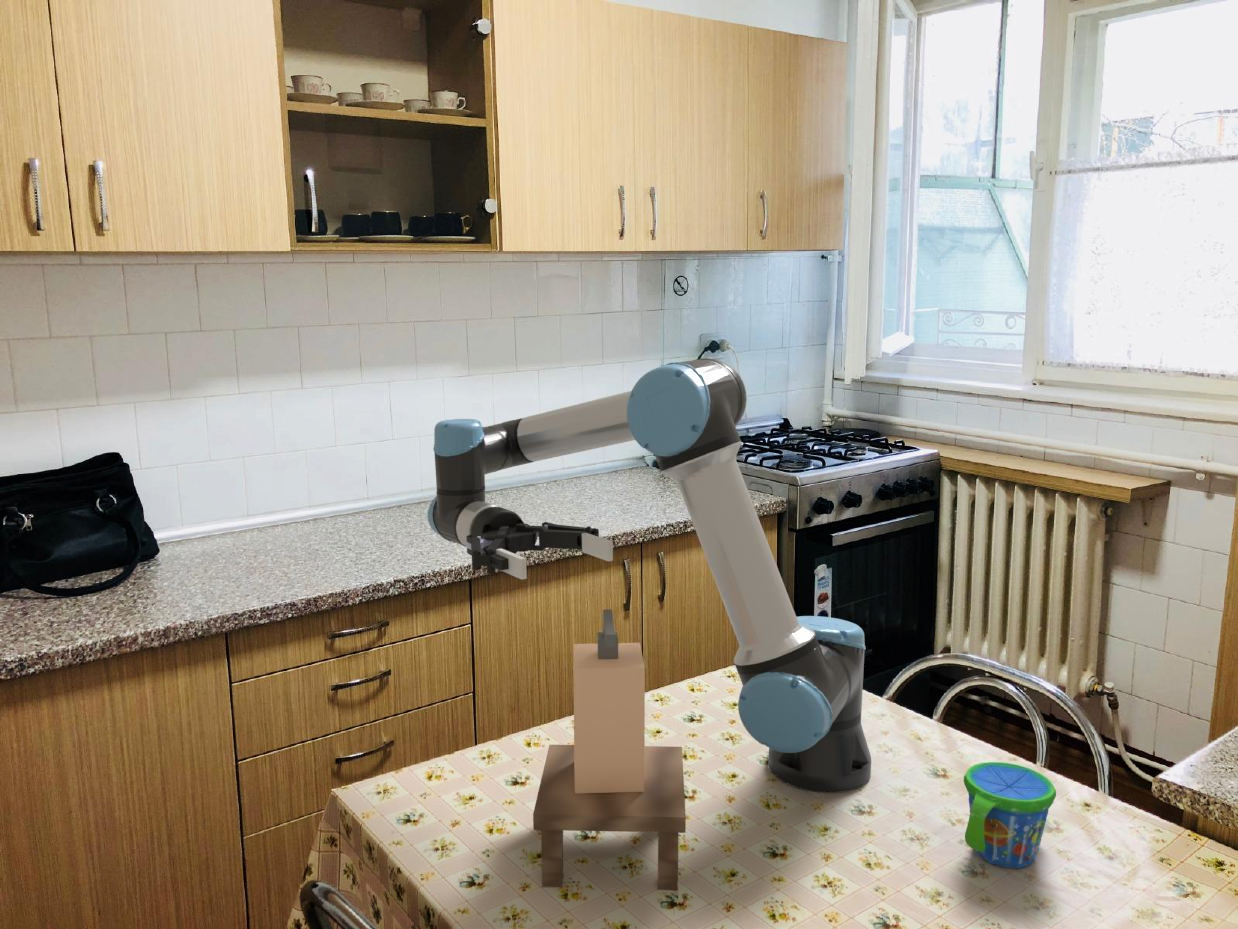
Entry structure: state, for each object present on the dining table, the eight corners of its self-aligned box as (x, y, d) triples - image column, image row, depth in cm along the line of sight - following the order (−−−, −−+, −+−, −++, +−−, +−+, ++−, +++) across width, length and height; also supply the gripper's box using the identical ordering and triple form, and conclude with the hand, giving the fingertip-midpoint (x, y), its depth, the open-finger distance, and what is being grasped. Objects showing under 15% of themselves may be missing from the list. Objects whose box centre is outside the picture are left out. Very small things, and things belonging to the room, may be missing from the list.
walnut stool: (681, 814, 136) (681, 746, 134) (684, 894, 118) (685, 817, 117) (550, 812, 137) (549, 744, 135) (534, 891, 119) (533, 814, 117)
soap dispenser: (574, 761, 130) (572, 600, 126) (639, 759, 131) (639, 599, 127) (575, 812, 118) (573, 635, 114) (647, 810, 118) (647, 634, 114)
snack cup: (1006, 817, 135) (1011, 748, 133) (1078, 854, 127) (1084, 780, 125) (930, 853, 127) (934, 780, 125) (1001, 895, 118) (1007, 817, 116)
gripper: (562, 541, 156) (644, 570, 139) (415, 569, 142) (485, 605, 125) (561, 495, 155) (643, 518, 138) (412, 518, 140) (483, 547, 123)
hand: (568, 560), depth 131 cm, fingers open, 13 cm apart
